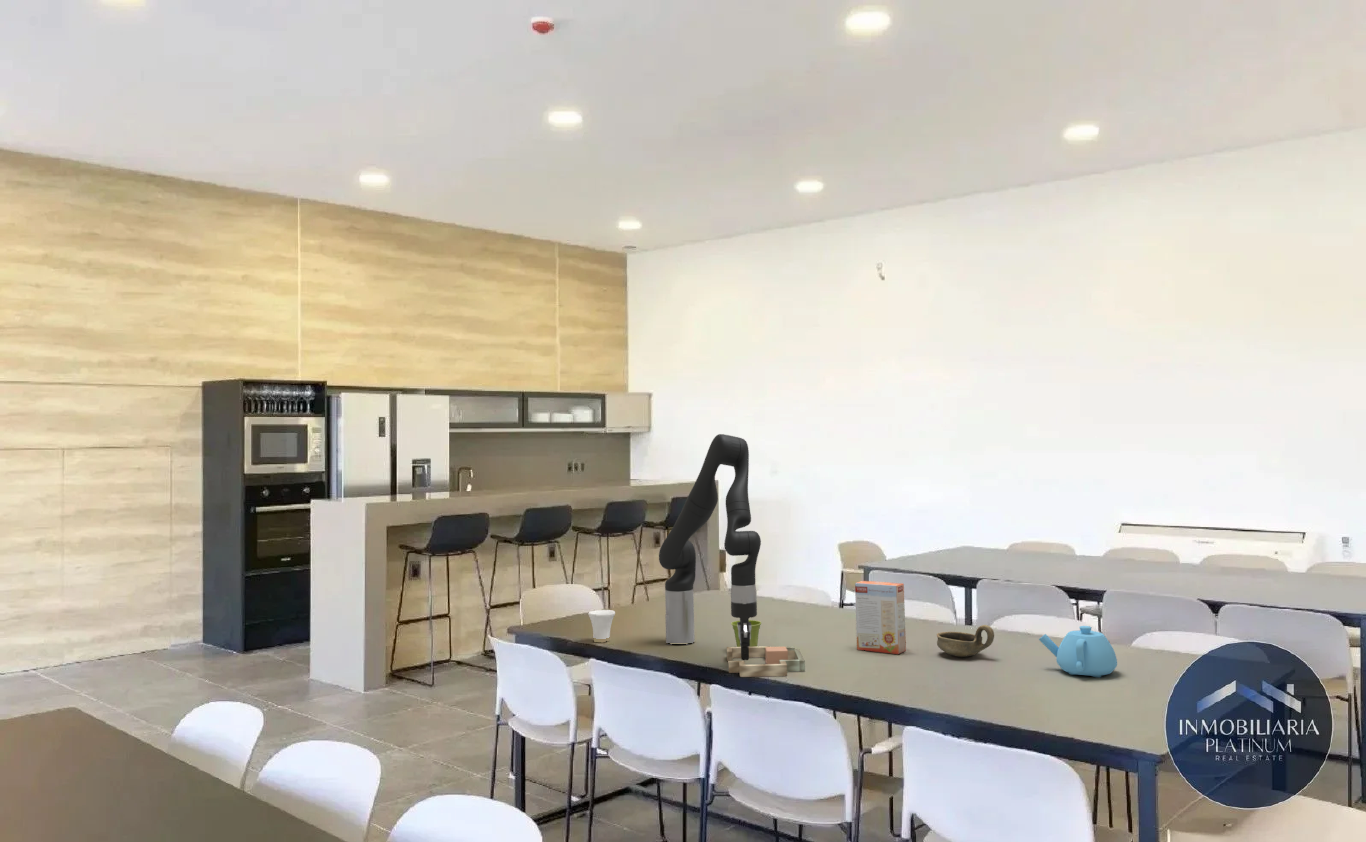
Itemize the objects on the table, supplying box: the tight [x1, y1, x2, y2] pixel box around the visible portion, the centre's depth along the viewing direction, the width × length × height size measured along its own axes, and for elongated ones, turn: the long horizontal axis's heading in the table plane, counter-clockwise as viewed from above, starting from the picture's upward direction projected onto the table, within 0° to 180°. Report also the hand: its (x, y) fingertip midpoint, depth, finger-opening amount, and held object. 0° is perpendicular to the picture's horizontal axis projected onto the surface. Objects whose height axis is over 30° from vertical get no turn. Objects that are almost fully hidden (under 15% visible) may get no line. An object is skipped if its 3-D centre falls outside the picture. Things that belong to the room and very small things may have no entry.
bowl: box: [936, 624, 995, 658], centre depth 290 cm, size 14×18×10 cm
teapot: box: [1038, 625, 1118, 678], centre depth 268 cm, size 20×20×13 cm
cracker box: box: [854, 580, 907, 655], centre depth 300 cm, size 14×6×21 cm, turn 53°
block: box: [764, 646, 788, 664], centre depth 284 cm, size 6×6×5 cm
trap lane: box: [726, 645, 806, 678], centre depth 284 cm, size 22×25×4 cm
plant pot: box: [730, 619, 762, 647], centre depth 305 cm, size 9×9×9 cm
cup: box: [587, 609, 616, 639], centre depth 324 cm, size 9×9×10 cm
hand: (745, 659), depth 284 cm, fingers closed
